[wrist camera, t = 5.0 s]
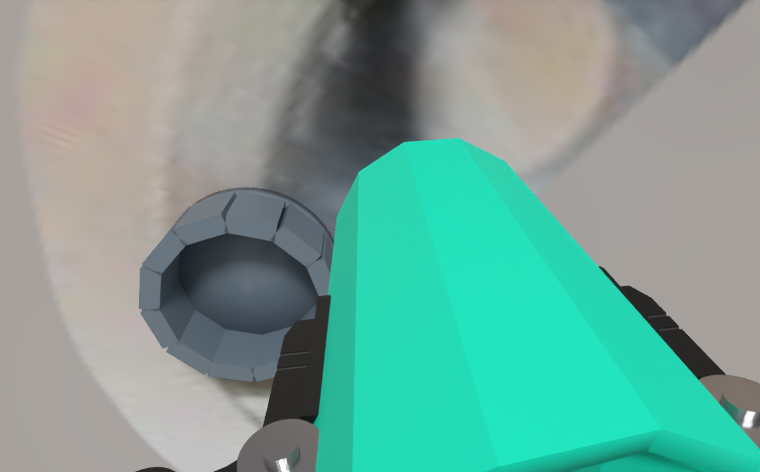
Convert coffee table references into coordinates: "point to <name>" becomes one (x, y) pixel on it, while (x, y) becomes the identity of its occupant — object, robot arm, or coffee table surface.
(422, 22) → the coffee table surface
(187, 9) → the coffee table surface
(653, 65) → the coffee table surface
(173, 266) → the candle dish
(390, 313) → the candle
